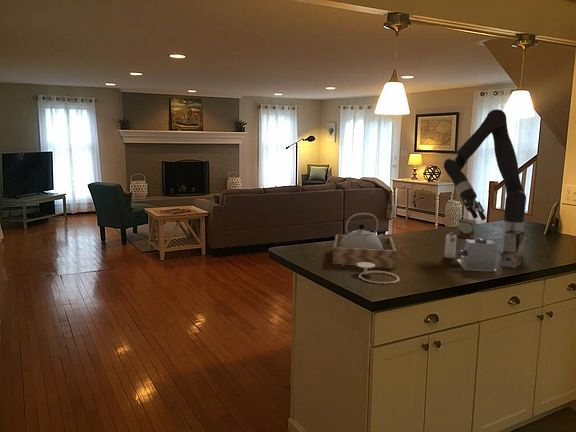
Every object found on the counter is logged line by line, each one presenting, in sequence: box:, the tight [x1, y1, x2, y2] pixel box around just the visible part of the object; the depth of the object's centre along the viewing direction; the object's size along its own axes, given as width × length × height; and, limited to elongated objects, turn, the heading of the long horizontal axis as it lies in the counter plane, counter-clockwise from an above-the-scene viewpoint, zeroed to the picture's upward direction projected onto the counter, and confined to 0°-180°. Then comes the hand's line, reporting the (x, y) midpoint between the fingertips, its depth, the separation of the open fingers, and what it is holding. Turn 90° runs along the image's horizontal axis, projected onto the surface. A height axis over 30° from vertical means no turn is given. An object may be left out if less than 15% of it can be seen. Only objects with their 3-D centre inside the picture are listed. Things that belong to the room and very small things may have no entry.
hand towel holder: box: [356, 262, 400, 284], centre depth 198 cm, size 17×4×21 cm
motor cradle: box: [455, 237, 498, 273], centre depth 218 cm, size 17×17×14 cm
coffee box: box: [501, 230, 525, 269], centre depth 221 cm, size 9×6×16 cm
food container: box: [458, 218, 478, 240], centre depth 284 cm, size 12×6×10 cm, turn 22°
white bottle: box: [444, 231, 458, 259], centre depth 234 cm, size 5×6×12 cm
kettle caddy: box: [332, 234, 397, 269], centre depth 229 cm, size 28×30×8 cm
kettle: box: [338, 212, 386, 250], centre depth 228 cm, size 25×23×22 cm
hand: (480, 218), depth 237 cm, fingers open, 8 cm apart
